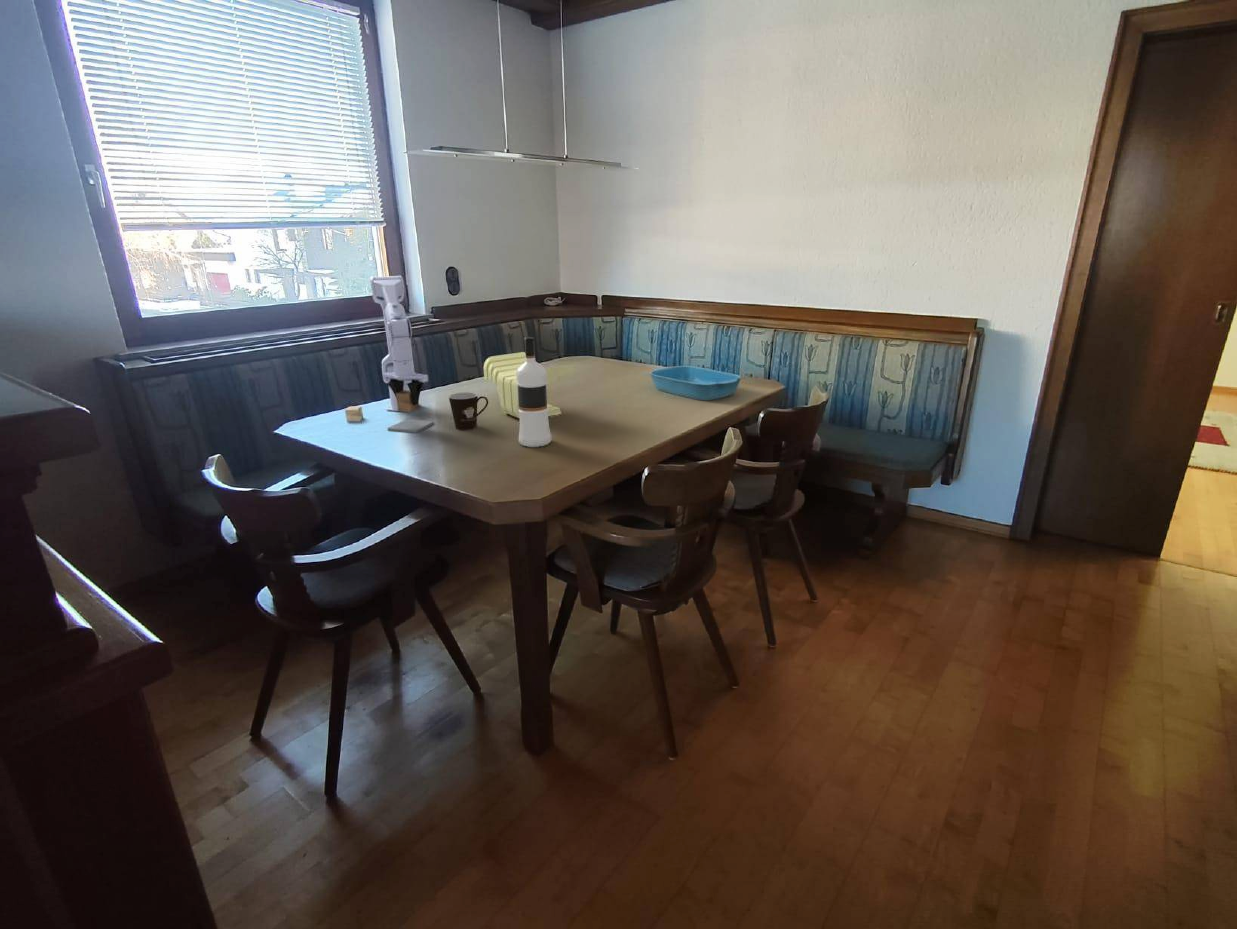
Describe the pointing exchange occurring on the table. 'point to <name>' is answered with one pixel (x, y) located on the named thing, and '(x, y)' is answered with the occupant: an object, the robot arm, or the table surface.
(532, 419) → the vodka
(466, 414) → the coffee mug
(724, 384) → the casserole dish
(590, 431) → the table surface
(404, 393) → the walnut block
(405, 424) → the slate coaster
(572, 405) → the table surface
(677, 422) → the table surface
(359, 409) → the maple block
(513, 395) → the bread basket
